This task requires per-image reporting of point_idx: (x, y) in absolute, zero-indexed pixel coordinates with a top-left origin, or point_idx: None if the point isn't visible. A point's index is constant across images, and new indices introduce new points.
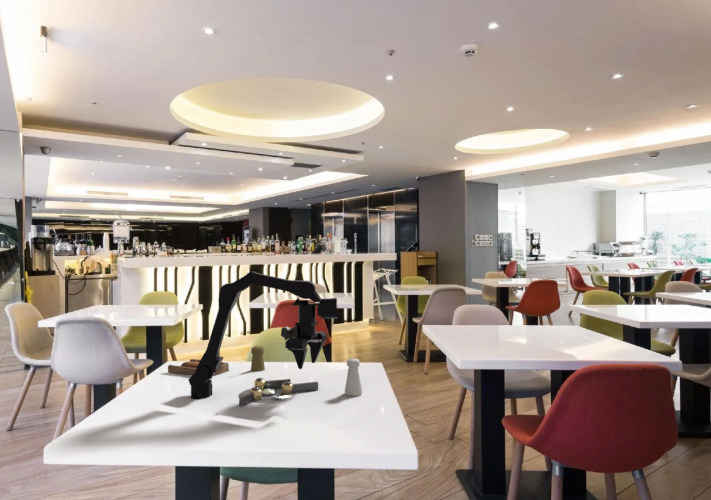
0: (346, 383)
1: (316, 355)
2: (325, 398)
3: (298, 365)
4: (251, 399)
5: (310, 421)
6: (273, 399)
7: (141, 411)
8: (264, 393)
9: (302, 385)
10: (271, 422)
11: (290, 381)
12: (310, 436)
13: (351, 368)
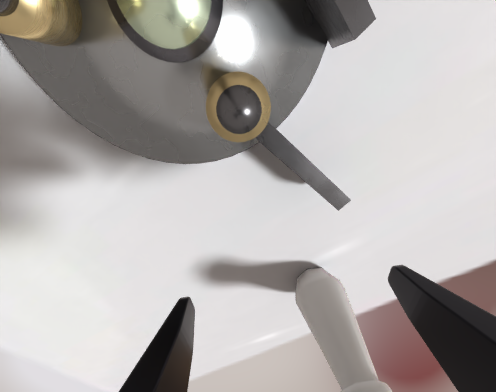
0: (319, 310)
1: (435, 354)
2: (287, 227)
3: (165, 329)
4: None
5: (111, 288)
6: (121, 111)
7: None
8: (118, 4)
9: (288, 166)
10: (13, 226)
11: (349, 41)
12: (53, 325)
13: (340, 385)
